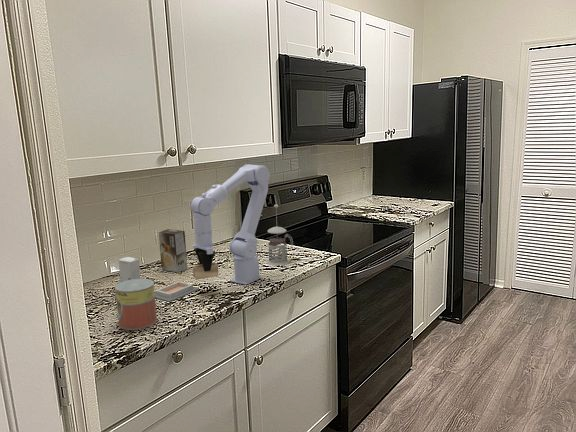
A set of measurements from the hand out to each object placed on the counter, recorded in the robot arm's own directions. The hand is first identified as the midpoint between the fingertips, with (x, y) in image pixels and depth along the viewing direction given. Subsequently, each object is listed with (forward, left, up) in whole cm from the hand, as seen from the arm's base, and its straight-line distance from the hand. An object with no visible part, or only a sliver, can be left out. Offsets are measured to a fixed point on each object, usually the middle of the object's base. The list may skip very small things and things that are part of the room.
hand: (205, 269), depth 166 cm
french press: (-42, +2, -9) cm, 43 cm away
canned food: (+30, 0, -9) cm, 31 cm away
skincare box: (+14, -24, -9) cm, 29 cm away
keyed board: (+7, -9, -8) cm, 14 cm away
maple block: (0, 0, -3) cm, 3 cm away
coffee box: (-12, -30, -9) cm, 34 cm away
